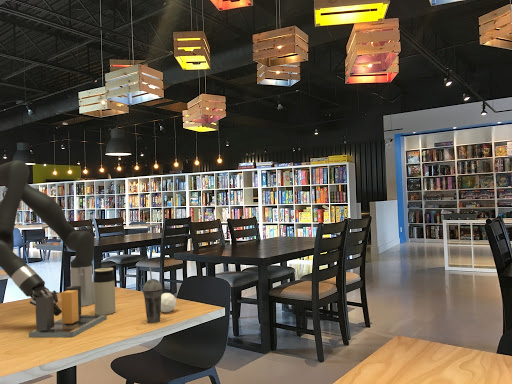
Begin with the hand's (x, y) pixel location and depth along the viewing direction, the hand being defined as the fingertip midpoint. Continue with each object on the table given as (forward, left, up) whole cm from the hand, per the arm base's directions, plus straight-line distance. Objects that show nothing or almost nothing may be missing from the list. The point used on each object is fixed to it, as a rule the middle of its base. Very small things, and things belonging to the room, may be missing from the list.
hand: (59, 313), depth 154 cm
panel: (-2, +4, -5) cm, 7 cm away
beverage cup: (-23, +25, -5) cm, 34 cm away
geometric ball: (-35, +18, -5) cm, 40 cm away
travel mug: (-21, -4, -5) cm, 22 cm away
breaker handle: (-2, +4, -3) cm, 5 cm away
